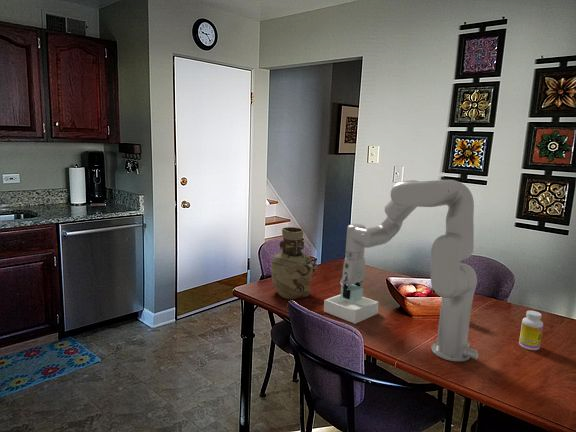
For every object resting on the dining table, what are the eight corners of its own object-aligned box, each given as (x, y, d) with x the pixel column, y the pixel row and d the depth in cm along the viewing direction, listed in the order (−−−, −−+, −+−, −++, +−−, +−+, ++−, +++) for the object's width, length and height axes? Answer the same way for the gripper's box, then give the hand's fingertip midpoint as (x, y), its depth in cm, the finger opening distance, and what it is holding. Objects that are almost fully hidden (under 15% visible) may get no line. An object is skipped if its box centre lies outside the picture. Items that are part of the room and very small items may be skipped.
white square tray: (377, 313, 181) (378, 302, 180) (354, 323, 170) (355, 311, 169) (347, 302, 192) (347, 291, 191) (323, 311, 181) (324, 300, 180)
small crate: (362, 299, 180) (363, 287, 179) (352, 302, 176) (353, 291, 175) (349, 294, 185) (350, 283, 184) (340, 298, 180) (341, 286, 179)
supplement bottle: (539, 352, 152) (544, 318, 150) (518, 347, 155) (522, 313, 153) (540, 345, 158) (545, 312, 155) (519, 340, 161) (524, 307, 159)
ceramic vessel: (314, 302, 190) (318, 236, 185) (267, 298, 192) (269, 232, 187) (316, 288, 209) (319, 227, 204) (273, 284, 211) (275, 224, 206)
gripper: (349, 260, 168) (345, 304, 171) (374, 253, 180) (371, 294, 183) (334, 255, 173) (331, 298, 176) (359, 249, 185) (356, 289, 189)
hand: (351, 295), depth 180 cm, fingers closed on small crate, 6 cm apart
